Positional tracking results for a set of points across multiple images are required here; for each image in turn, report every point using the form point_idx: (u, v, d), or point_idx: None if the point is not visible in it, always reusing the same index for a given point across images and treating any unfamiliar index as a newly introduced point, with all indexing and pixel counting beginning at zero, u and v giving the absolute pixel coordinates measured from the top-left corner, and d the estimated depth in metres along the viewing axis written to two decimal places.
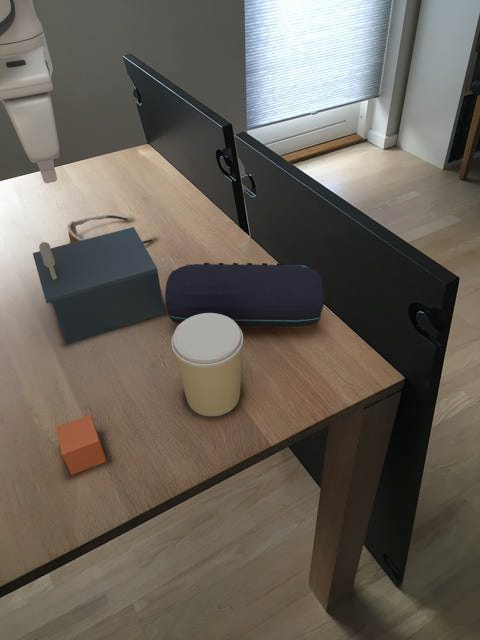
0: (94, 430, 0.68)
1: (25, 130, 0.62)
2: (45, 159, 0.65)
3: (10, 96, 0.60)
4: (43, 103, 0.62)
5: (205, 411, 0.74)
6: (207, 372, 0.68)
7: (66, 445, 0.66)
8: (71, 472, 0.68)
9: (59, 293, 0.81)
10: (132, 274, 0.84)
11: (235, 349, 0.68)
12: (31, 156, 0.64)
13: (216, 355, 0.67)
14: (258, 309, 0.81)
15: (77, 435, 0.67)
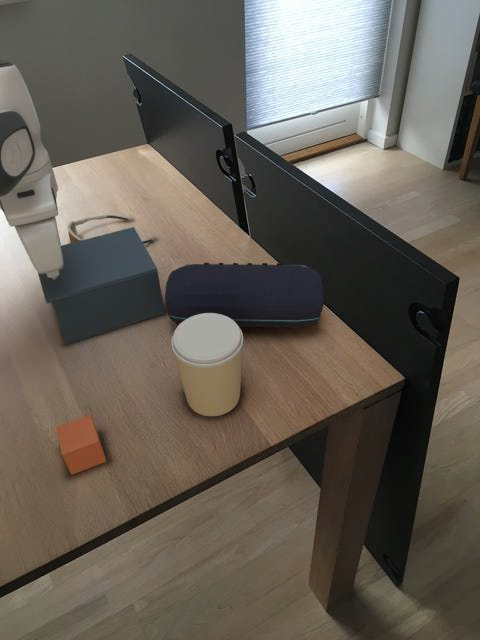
0: (94, 430, 0.68)
1: (34, 250, 0.71)
2: (51, 271, 0.74)
3: (21, 223, 0.69)
4: (50, 227, 0.71)
5: (205, 411, 0.74)
6: (207, 373, 0.68)
7: (66, 445, 0.66)
8: (71, 472, 0.68)
9: (59, 293, 0.81)
10: (132, 274, 0.84)
11: (235, 349, 0.68)
12: (39, 270, 0.73)
13: (216, 355, 0.67)
14: (258, 309, 0.81)
15: (77, 435, 0.67)
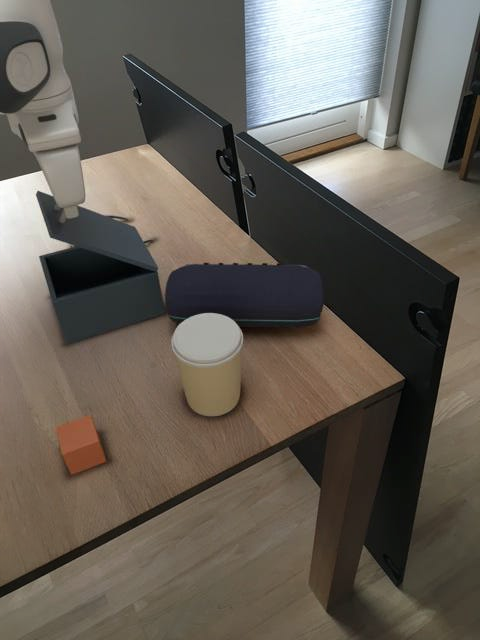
0: (94, 430, 0.68)
1: (55, 179, 0.67)
2: (72, 204, 0.69)
3: (42, 149, 0.65)
4: (72, 154, 0.66)
5: (205, 411, 0.74)
6: (207, 373, 0.68)
7: (66, 445, 0.66)
8: (71, 472, 0.68)
9: (66, 236, 0.76)
10: (136, 260, 0.82)
11: (235, 349, 0.68)
12: (60, 203, 0.68)
13: (216, 355, 0.67)
14: (258, 309, 0.81)
15: (77, 435, 0.67)
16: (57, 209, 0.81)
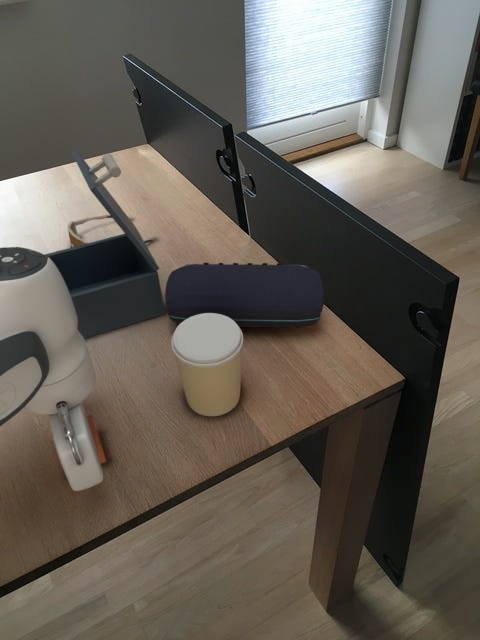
0: (94, 430, 0.68)
1: None
2: None
3: None
4: None
5: (205, 411, 0.74)
6: (207, 373, 0.68)
7: None
8: None
9: (103, 196, 0.74)
10: (145, 251, 0.82)
11: (235, 349, 0.68)
12: None
13: (216, 355, 0.67)
14: (258, 309, 0.81)
15: None
16: (92, 172, 0.80)
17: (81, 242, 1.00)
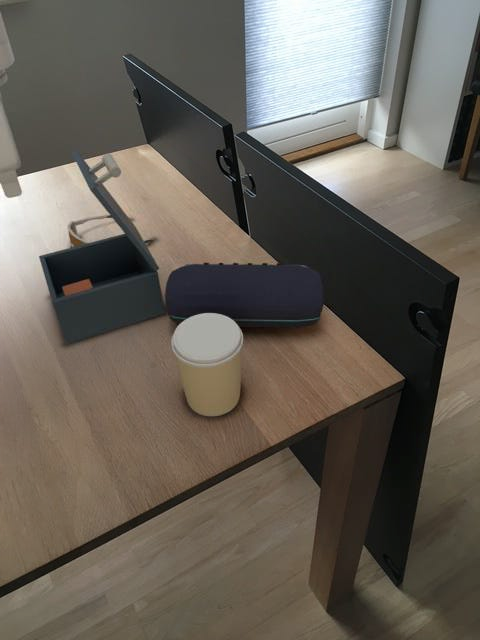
0: (92, 287, 0.88)
1: None
2: None
3: None
4: None
5: (205, 411, 0.74)
6: (207, 373, 0.68)
7: None
8: None
9: (103, 196, 0.74)
10: (145, 251, 0.82)
11: (235, 349, 0.68)
12: None
13: (216, 355, 0.67)
14: (258, 309, 0.81)
15: (79, 291, 0.88)
16: (92, 172, 0.80)
17: (81, 242, 1.00)
